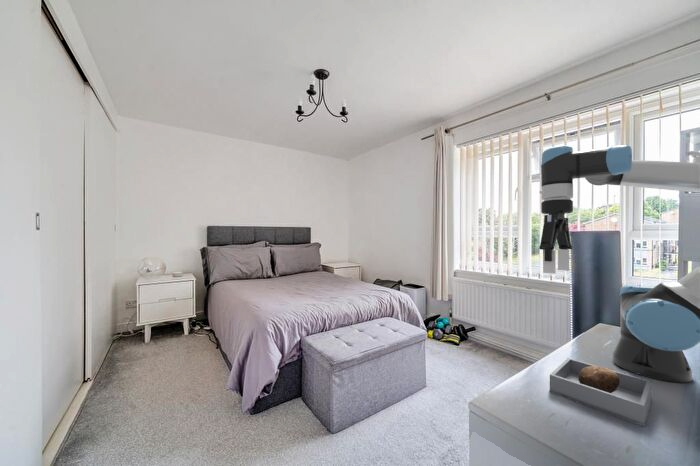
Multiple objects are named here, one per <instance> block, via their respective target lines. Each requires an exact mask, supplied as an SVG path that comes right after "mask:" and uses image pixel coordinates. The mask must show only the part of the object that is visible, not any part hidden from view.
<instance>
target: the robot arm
mask: <svg viewBox="0 0 700 466" xmlns="http://www.w3.org/2000/svg"><path fill="white" fill-rule="evenodd" d="M632 151H633V149H632V146H630V145H628V144H624V145H611V146H608V147H601V148H596V149H588V150H581V151H574V149H573V147H572V146H571V145H557V146H553V147H548V148H546V149H545V150H544V151H543V152H542V154H541V164H540V167H541V169H540V171H541V172H540V173H541V176H540V177H541V179H540V180H541V183H540V184H541V190H539V194H541V200H542V202H541V207H540V208H541V211H540V212H541V214H543V215H544V216H543V226H542V227H543V228H542V233H541V238H540V239H541V240H540V244H539V247H538V249H539V250H542V268H543V269H542V273H544V274H553V275H554V274H556V249H555V247H556V243H557V245H558V249H557V270H558V271H566V272H567V271H568V272H569V271H570V250H573V246H572V242H571V235H570V228H569V217H567V216H565V214H571V213H572V212H574V201H573V198H574V184H573V182H574V181H573V180H575V179H585V180H586V181H587V182H588V183H589V184H591V185H593V186H605V185H610V186H624V187H635V188H644V189H645V188H646V189H657V190H667V191H676V192H678V191H679V192H687V193H698V194H700V162H687V161H686V162H684V161H683V162H681V161H665V160H664V161H663V160H662V161H661V160H643V159H633V152H632ZM618 297H619V298H620V308H619V309H620V313H619V314H620V315H619V316H620V336H619V339H618V341H617V343H616V346H615V348H614V350H613V352H612V363H614V364H615V365H616V366H618V367H620V368H621V369H624V370H626V371H628V372H630V373H634V374H638V375H640V376H643V377H647V378H651V379H654V380H660V381H664V382H671V383H672V382H673V383H690V382H692V380H693V371H692V369H691V366H690V364H689V362H688V359H687V357H686V355H685V353H684V351H686V350H689V349H692V348H694V347H696V346H697V345H699V343H700V265H699V266H697V267H696V268H695V269H693V270H692V271H690V272H688V273H687V274H686V275H684V276H683V277H681V278H679V279H678V280H677V281H675V282H666V281H665V282H663V281H662V282H660V283H658V284H657V285H656V286H654V287H650V286H649V287H648V286H638V285H637V286H636V285H635V286H633V285H623V286H622V287H621V288H620V292H619V296H618Z"/></svg>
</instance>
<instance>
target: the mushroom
mask: <svg viewBox="0 0 700 466" xmlns="http://www.w3.org/2000/svg"><path fill="white" fill-rule="evenodd" d="M597 366H598V365H595V366H589V367H585V368H583V369H582V370H581V371H580V372H579V377H578V379H579V382H580V384H583V385H587V386H590V387H593V388H596V389H599V390H602V391H605V392H608V393H612V392H614V391H616V390H617V389H618V388H617V387H618V386H619V382H620V379H619V377H618V374H617V373H615V372H614V371H615V370H613V369H610V368H606V367H602V366H599V367H597ZM612 370H613V371H612Z"/></svg>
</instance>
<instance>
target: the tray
mask: <svg viewBox="0 0 700 466" xmlns="http://www.w3.org/2000/svg"><path fill="white" fill-rule="evenodd" d="M589 366H597V367H600V366H598V365H595V364H591V363H587V362H584V361H580V360H577V359H574V358H570V357H568V358H566V359H565V360H564V361H562V363H561V364H560V365H559V366H558V367H556V368H555V369H554V370H553V371H552V372H551V373H550V374H549V392H550V393H551V394H555V395H556V396H557V395H558V396H561V397H562V398H566V399H568V400H571V401H574V402H576V403H579V404H582V405H585V406H587V407H590V408H593V409H595V410H598V411H601V412H603V413H606V414H609V415H612V416H614V417H617V418H620V419H622V420H625V421H628V422H631V423H632V424H633V423H634V424H636V425H638V426H641V427H645V426H646V423H647V419H648V416H649V415H648V414H649V411H650V407H651V404H652V399H653V395H652V394H653V389H652V387H653V385H652V384H653V383H652V382H653V381H652V380H649V379H644V378H642V377H638V376H634V375H632V374H627V373H623V372H620V371H617V370H613V369H611V370H612V371H614V372H615V373H617V374H618V377H619V379H620V382H619V386H618V387H617V388H618V389H617V390H616V391H614V392H612V393H608V392H605V391H602V390H599V389H596V388H593V387H590V386H587V385H583V384H580V382H579V379H578V377H579V372H580V371H581V370H582V369H583V368H585V367H589Z"/></svg>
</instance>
